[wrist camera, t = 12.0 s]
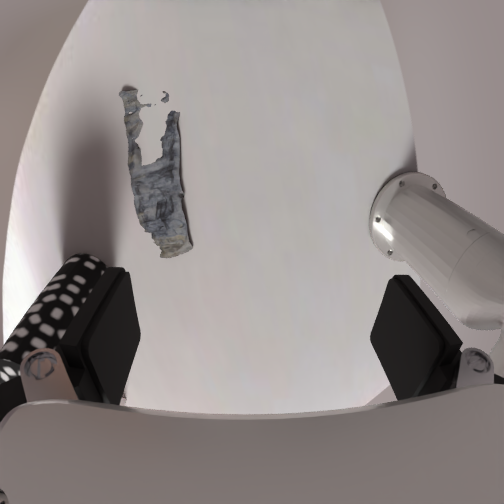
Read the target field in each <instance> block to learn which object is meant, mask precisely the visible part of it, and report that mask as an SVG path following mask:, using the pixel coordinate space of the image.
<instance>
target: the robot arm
mask: <svg viewBox="0 0 504 504" xmlns="http://www.w3.org/2000/svg"><path fill="white" fill-rule="evenodd" d="M399 182H400V183H399ZM369 228H370V234H371V238H372V240H373V243H374V244H375V246H376V247H377V249H378V250H379V251H380V252H381V253H382V254H383V255H384V256H385V257H387V258H389V259H391V260H394V261H400V262H401V261H405V262H406V263H407V264H408V265H409V266H410V267H411V268H412V269H413V270H414V271H415V272H416V273H417V274H418V275H419V277H420V278H421V279H422V280H423V281H424V282H425V283H426V284H427V285H428V286H429V288H430V289H431V290H432V291H433V292H434V293H435V294H436V295H437V297H439V299H440V300H441V301H442V302H443V303H444V305H445V306H446V307H447V308H448V309H449V310H450V311H451V313H452V314H453V315H454V316H455V317H456V318H457V319H458V320H459V321H460V322H461V323H462V324H463V325H465V326H467V327H469V328H472V329H476V330H495V329H501V335H500V337H499V339H498V341H497V343H496V344H495V346H494V347H493V349H492V351H491V352H490V354H489V355H487V354H486V353H485V352H484V351H482V350H480V349H477V348H467V349H465V350H464V351H463V352H461V351H460V347H461V345H462V344H463V342H462V341H461V340H460V338H459V337H458V336H457V334H456V333H455V332H454V330H453V329H452V328H451V326H450V325H449V324H448V322H447V321H446V320H445V318H444V317H443V316H442V315H441V313H440V312H439V311H438V309H437V308H436V307H435V306H434V305H433V303H432V302H431V301H430V300H429V298H428V297H427V296H426V295H425V294H424V292H423V291H422V290H421V289H420V287H419V286H418V285H417V284H416V283H415V281H414V280H413V279H412V278H411V277H410V276H409V275H394V276H393V278H392V279H390V280H389V281H388V284H387V287H386V291H385V294H384V297H383V300H382V303H381V306H380V309H379V312H378V315H377V317H376V320H375V323H374V326H373V329H372V331H371V335H370V340H371V344H372V346H373V348H374V350H375V352H376V354H377V356H378V358H379V360H380V362H381V365H382V367H383V369H384V371H385V373H386V375H387V378H388V380H389V382H390V384H391V386H392V389H393V391H394V393H395V395H396V398H397V400H398V401H393V402H388V403H382V404H375V405H369V406H362V407H354V408H346V409H338V410H328V411H317V412H304V413H288V414H249V415H240V414H204V413H187V412H174V411H164V410H153V409H144V408H135V407H127V406H120V402H121V398H122V395H123V392H124V388H125V385H126V382H127V378H128V375H129V372H130V369H131V366H132V363H133V360H134V357H135V354H136V351H137V348H138V345H139V342H140V336H141V333H140V327H139V322H138V317H137V312H136V307H135V301H134V296H133V290H132V284H131V278H130V274H129V272H125V269H124V268H122V267H108V268H107V269H106V270H105V271H104V273H103V274H102V276H101V277H100V279H99V280H98V282H97V283H96V285H95V286H94V288H93V289H92V291H91V292H90V294H89V295H88V297H87V298H86V300H85V302H84V303H83V304H82V305H81V307H80V308H79V310H78V312H77V313H76V315H75V316H74V318H73V320H72V321H71V323H70V325H69V326H68V328H67V330H66V331H65V333H64V335H63V336H62V338H61V340H60V341H59V343H58V345H57V347H56V348H55V350H53V349H49V348H41V349H36V350H34V351H32V352H30V353H29V354H28V355H27V356H25V358H24V359H23V361H22V362H21V365H20V375H19V376H17V377H15V378H13V379H10V380H8V381H6V382H4V383H1V384H0V504H504V234H503V233H501V232H499V231H498V230H496V229H495V228H493V227H492V226H490V225H489V224H487V223H486V222H484V221H483V220H481V219H480V218H478V217H476V216H475V215H473V214H472V213H470V212H468V211H467V210H465V209H463V208H462V207H460V206H458V205H457V204H455V203H453V202H452V201H450V200H448V199H446V195H445V193H444V191H443V188H442V187H441V186H440V184H439V183H438V182H437V181H436V180H435V179H434V178H432V177H430V176H428V175H426V174H423V173H419V172H408V173H404V174H401V175H399V176H397V177H395V178H394V179H392V180H391V181H390V182H388V183H387V184H386V185H385V186H384V187H383V189H382V190H381V191H380V192H379V194H378V196H377V198H376V199H375V201H374V204H373V207H372V209H371V214H370V224H369Z"/></svg>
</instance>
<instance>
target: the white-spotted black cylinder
mask: <svg viewBox="0 0 504 504" xmlns="http://www.w3.org/2000/svg"><path fill="white" fill-rule="evenodd" d="M107 268H108V267H107V266H106V265H105V264H104V263H103V262H102V261H101V260H99V259H97V258H96V257H94V256H91V255H88V254H76V255H74V256H72V257H70V258H69V259H68V260H67V261H66V262H65V264H64V265H63V266H62V267H61V268H60V270H59V271H58V272H57V273H56V274H55V276H54V277H53V278H52V279H51V281H50V282H49V283H48V284H47V286H46V287H45V288H44V290H43V291H42V292H41V293H40V295H39V296H38V297H37V299H36V300H35V301H34V303H33V304H32V305H31V307H30V308H29V309H28V311H27V312H26V314H25V315H24V316H23V318H22V319H21V321H20V322H19V323H18V325H17V326H16V328H15V329H14V331H13V332H12V334H11V335H10V337H9V338H8V340H7V341H6V343H5V344H4V346H3V347H2V349H1V350H0V384H1V383H4V382H6V381H8V380H10V379H13V378H15V377H17V376H19V375H20V365H21V362H22V361H23V359H24V358H25V356H27V355H28V354H29V353H30V352H32V351H34V350H36V349H41V348H49V349H53V350H55V348H56V347H57V345H58V343H59V341H60V340H61V338H62V336H63V335H64V333H65V331H66V330H67V328H68V326H69V325H70V323H71V321H72V320H73V318H74V316H75V315H76V313H77V312H78V310H79V308H80V307H81V305H82V304H83V303H84V302H85V300H86V298H87V297H88V295H89V294H90V292H91V291H92V289H93V288H94V286H95V285H96V283H97V282H98V280H99V279H100V277H101V276H102V274H103V273H104V271H105V270H106V269H107Z"/></svg>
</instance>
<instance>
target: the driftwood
mask: <svg viewBox="0 0 504 504" xmlns="http://www.w3.org/2000/svg"><path fill="white" fill-rule="evenodd" d="M137 92H138V90H133V91H132V90H130V91H121V92H120V93H119V96H120V97H122V99H123V102H124V108H125V112H126V113H125V116H124V122H125V125H126V129H127V130H126V131H127V132H126V134H127V138H128V143H129V147H128V148H129V150H128V152H129V153H128V155H129V157H128V166H129V170H130V175H131V186H132V190H133V194H134V196H135V197H134V199H135V200H134V205H135V208H136V213H137V217H138V219H139V222H140V225H141V226H142V227H143V228H144V229H145V232H149V233H152V238H153V239H154V241H155V243H156V245H157V246H160V249H161V250H162V252H161V254H160V257H161V258H171V257H174V256H178V255H180V254H183V253H186V252H188V251H189V250H191V249H192V248H193V246H192V245H191V244H190V242H189V238H188V233H187V224H186V220H185V216H184V214H183V211H182V206H181V200H182V198H183V197H184V193H183V191H182V188H181V185H180V176H179V160H180V157H179V156H180V143H179V141H180V139H179V134H178V131H177V121H178V118H179V115H180V112H175V111H171V112H170V113H169V114H168V119H167V121H166V124H167V128H166V131H165V135H164V136H163V137H162V138H161V141H162V148H163V152H162V154H163V156H162V157H161V158H158V159H157V160H156V162H154V163H152V164H148V165H143V166H141V162H142V158H141V150H140V149H139V147H138V144H137V143H135V139H136V138H137V137H138V136H139V133H140V131H141V128H142V125H143V122H142V120H141V119H140V118H139V112H140V110H141V108H142V107H145V106H149V107H151V104H144V105H142V104H140V102H139V101H138V100H137V96H136V95H137ZM163 93H166V92H165V91H163ZM141 96H142V95H141ZM161 101H162V102H164V103H166V102H168V101H169V94H168V93H166V97H164V98H162V99H161ZM155 105H156V104H155ZM155 105H154V106H155ZM129 112H133V113H132V114H128V113H129ZM132 138H133V139H132Z"/></svg>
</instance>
